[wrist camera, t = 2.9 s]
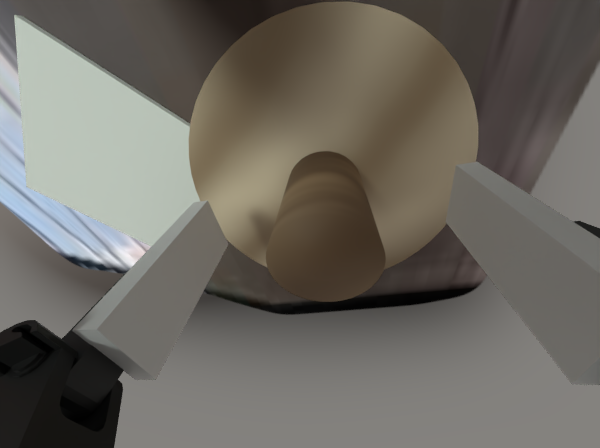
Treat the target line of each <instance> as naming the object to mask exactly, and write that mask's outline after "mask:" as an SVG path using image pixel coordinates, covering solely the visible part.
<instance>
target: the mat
mask: <svg viewBox="0 0 600 448" xmlns="http://www.w3.org/2000/svg"><path fill="white" fill-rule="evenodd" d="M14 17H15V31H16V45H17V59H18V73H19V87H20V101H21V115H22V129H23V143H24V158H25V172H26V186H27V187H28V188H30V189H32V190H34V191H36V192H38V193H40V194H42V195H44V196H47V197H49V198H51V199H53V200H55V201H57V202H59V203H61V204H63V205H65V206H68V207H70V208H72V209H74V210H76V211H78V212H80V213H82V214H84V215H86V216H89V217H91V218H93V219H95V220H97V221H99V222H101V223H103V224H105V225H107V226H110V227H112V228H114V229H116V230H118V231H120V232H122V233H124V234H126V235H128V236H131V237H133V238H135V239H137V240H139V241H141V242H143V243H145V244H147V245H149V246H153V245H154V244H155V243H156V241H157V240H158V239H159V238H160V237H161V236H162V235H163V234H164V233H165V232H166V231H167V230H168V229H169V228H170V227H171V226H172V225H173V224H174V223H175V222H176V220H177V219H178V218H179V217H180V216H181V215H182V214H183V213H184V212H185V211H186V210H187V209H188V208H189V207H190V206H191V205H192V204H193V203H194V202H200V199H199V196H198V194H197V192H196V189H195V185H194V182H193V178H192V175H191V168H190V162H189V132H190V123H188V122H186V121H185V120H183V119H182V118H180V117H179V116H177V115H176V114H174V113H172V112H171V111H169V110H168V109H166V108H165V107H163V106H162V105H160V104H158V103H157V102H155V101H154V100H152V99H151V98H149V97H148V96H146V95H144V94H143V93H141V92H140V91H138V90H137V89H135V88H134V87H132V86H130V85H129V84H127V83H126V82H124V81H123V80H121V79H120V78H118V77H116V76H115V75H113V74H112V73H110V72H109V71H107V70H106V69H104V68H102V67H101V66H99V65H98V64H96V63H95V62H93V61H92V60H90V59H88V58H87V57H85V56H84V55H82V54H81V53H79V52H78V51H76V50H74V49H73V48H71V47H70V46H68V45H67V44H65V43H64V42H62V41H60V40H59V39H57V38H56V37H54V36H53V35H51V34H50V33H48V32H46V31H45V30H43V29H42V28H40V27H39V26H37V25H36V24H34V23H32V22H31V21H29V20H28V19H26V18H25V17H23V16H18V15H14Z"/></svg>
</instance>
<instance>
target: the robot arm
mask: <svg viewBox="0 0 600 448" xmlns="http://www.w3.org/2000/svg"><path fill="white" fill-rule="evenodd" d="M446 223H447V224H448V226H449V227H450V228H451V229H452V231H453V232H454V233H455V235H456V236H457V237H458V238H459V240H460V241H461V242H462V244H463V245H464V246H465V247H466V249H467V250H468V251H469V253H470V254H471V255H472V256H473V258H474V259H475V260H476V262H477V263H478V264H479V265H480V267H481V268H482V269H483V271H484V272H485V273H486V274H487V276H488V277H489V278H490V279H491V281H492V282H493V283H494V285H495V286H496V287H497V289H498V290H499V291H500V292H501V294H502V295H503V296H504V298H505V299H506V300H507V301H508V303H509V304H510V305H511V307H512V308H513V309H514V310H515V312H516V313H517V314H518V315H519V317H520V318H521V319H522V321H523V322H524V323H525V325H526V326H527V327H528V328H529V330H530V331H531V332H532V333H533V335H534V336H535V337H536V339H537V340H538V341H539V343H540V344H541V345H542V346H543V348H544V349H545V350H546V351H547V353H548V354H549V355H550V357H551V358H552V359H553V360H554V362H555V363H556V364H557V366H558V367H559V368H560V369H561V371H562V372H563V373H564V375H565V376H566V377H567V378H568V380H569V381H570V382H571V384H580V385H582V384H584V385H585V384H586V385H587V384H588V385H600V228H597V227H594V226H591V225H588V224H586V223H583V222H581V221H575V222H573V221H571V220H569V219H568V218H566V217H565V216H563V215H561V214H560V213H558V212H557V211H555V210H554V209H552V208H550V207H549V206H547V205H545V204H544V203H542V202H541V201H539V200H538V199H536V198H534V197H533V196H531V195H530V194H528V193H526V192H525V191H523V190H522V189H520V188H518V187H517V186H515V185H514V184H512V183H510V182H509V181H507V180H506V179H504V178H502V177H501V176H499V175H498V174H496V173H495V172H493V171H491V170H490V169H488V168H487V167H485V166H483V165H482V164H480V163H479V162H472V163H465V164H458V165H456V167H455V172H454V178H453V183H452V189H451V194H450V200H449V205H448V211H447V216H446ZM227 246H228V242H227V240H226V238H225V236H224V234H223V232H222V229H221V227H220V225H219V223H218V221H217V219H216V217H215V215H214V212H213V210H212V208H211V206H210V204H209V202H208V200H207V201H200V202H194V203H193V204H192V205H191V206H190V207H189V208H188V209H187V210H186V211H185V212H184V213H183V214H182V215H181V216H180V217H179V218H178V219H177V220H176V222H175V223H174V224H173V225H172V226H171V227H170V228H169V229H168V230H167V231H166V232H165V233H164V234H163V235H162V236H161V237H160V238H159V239H158V240H157V241H156V243H155V244H154V245H153V246H152V247H151V248H150V249H149V250H148V251H147V252H146V253H145V254H144V255H143V256H142V257H141V258H140V259H139V260H138V261H137V262H136V263H135V265H134V266H133V267H132V268H131V269H130V270H129V271H128V272H126V273H125V274H124V275H123V276H122V277H121V278H120V279H119V280H118V281H117V282H116V283H115V284H114V287H113V288H110V289H109V291H108V292H107V293H106V294H105V296H104V297H102V298H101V299H100V300H99V301H98V302H97V303H96V304H95V305H94V306H93V307H92V308H91V310H89V311H88V312H87V313H86V315H85V316H84V317H83V318H82V319H81V320H80V321H79V322H78V323H77V324H76V325H75V326H74V327H73V328H72V329H71V330H70V331H69V332H68V333H67V335H66V336H64V337H63V338H62V339H61V338H59V337H58V336H56V335H55V334H54V333H52V332H51V331H49V330H48V329H47V328H45V327H44V326H42V325H41V324H40V323H38V322H37V321H35V320H28V321H24V322H21V323H18V324H16V325H14V326H12V327H10V328H8V329H6V330H4V331H2V332H1V333H0V448H114V444H115V437H116V431H117V425H118V417H119V412H120V405H121V399H122V392H123V387H122V383H121V382H120V381H119V380H118V378H119V377H120V375H121V374H122V372H123V371H125V372H126V373H127V374H129V375H130V376H131V377H133V378H134V379H137V380H140V379H142V380H156V379H157V377H158V375H159V373H160V371H161V369H162V367H163V366H164V363H165V362H166V360H167V358H168V356H169V354H170V352H171V350H172V349H173V347H174V345H175V343H176V341H177V339H178V338H179V336H180V334H181V332H182V330H183V328H184V326H185V324H186V323H187V321H188V319H189V317H190V315H191V313H192V311H193V310H194V308H195V306H196V304H197V302H198V300H199V298H200V296H201V295H202V293H203V291H204V289H205V287H206V285H207V283H208V282H209V280H210V278H211V276H212V274H213V272H214V270H215V268H216V267H217V265H218V263H219V261H220V259H221V257H222V255H223V253H224V252H225V250H226V248H227Z"/></svg>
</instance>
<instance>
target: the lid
mask: <svg viewBox="0 0 600 448" xmlns="http://www.w3.org/2000/svg"><path fill="white" fill-rule="evenodd" d="M477 151H478V120H477V114H476V107H475V103H474V100H473V97H472V94H471V91H470V88H469V85H468V82H467V80H466V79H465V77H464V75H463V73H462V71H461V69H460V67H459V65H458V64H457V62H456V61H455V60H454V58H453V57H452V56H451V55H450V53H449V52H448V51H447V50H446V48H445V47H444V46H443V45H442V44H441V43H440V42H439V41H438V40H437V39H436V38H435V37H433V36H432V35H431V34H430V33H429V32H428V31H427V30H425V29H424V28H423V27H421V26H420V25H418V24H416V23H414V22H413V21H411V20H409V19H408V18H406V17H404V16H402V15H401V14H398V13H395V12H392V11H389V10H387V9H384V8H381V7H378V6H375V5H369V4H362V3H356V2H350V1H347V2H320V3H315V4H310V5H305V6H300V7H296V8H293V9H291V10H288V11H285V12H283V13H280V14H277V15H275V16H272V17H271V18H269V19H267V20H266V21H264V22H262V23H260V24H259V25H257V26H255V27H254V28H252V29H250V30H249V31H248V32H247V33H246V34H244V35H243V36H242V37H241V38H240V39H238V40H237V41H236V42H235V43H234V44H232V45H231V47H230V48H229V49H228V50H227V51H226V52H225V53H224V55H223V56H222V57H221V58H220V59H219V60H218V61H217V63H216V64H215V66H214V67H213V69H212V71H211V72H210V74H209V75H208V77H207V79H206V80H205V82H204V84H203V86H202V89H201V91H200V93H199V96H198V98H197V100H196V103H195V107H194V111H193V114H192V118H191V124H190V132H189V162H190V168H191V175H192V178H193V182H194V185H195V189H196V192H197V194H198V196H199V199H200V201H207V200H208V202H209V204H210V206H211V208H212V210H213V212H214V215H215V217H216V219H217V221H218V223H219V225H220V227H221V229H222V232H223V234H224V236H225V238H226V239H227V240H228V241H229V242H230V243H231V244H232V245H234V246H235V247H236V248H237V249H238V250H239V251H241V252H242V253H244V254H245V255H246V256H248V257H249V258H251V259H253V260H254V261H256V262H258V263H259V264H261V265H263V266H266V267H268V270H269V272H270V274H271V276H272V277H273V279H274V280H275V281H276V282H277V283H278V284H279V285H280V286H281V287H282V288H284V289H285V290H287V291H288V292H290V293H292V294H294V295H296V296H298V297H301V298H304V299H308V300H313V301H321V302H333V301H341V300H346V299H350V298H353V297H355V296H358V295H360V294H362V293H364V292H365V291H367V290H368V289H370V288H371V287H372V286H373V285H374V284H375V283H376V282H377V281H378V280H379V278H380V277H381V275H382V273H383V271H384V269H387V268H389V267H392V266H394V265H396V264H398V263H399V262H401V261H403V260H405V259H407V258H408V257H410V256H411V255H413V254H414V253H416V252H417V251H419V250H420V249H421V248H423V247H424V246H425V245H426V244H427V243H429V242H430V241H431V240H432V239H433V238H434V237H435V236H436V235H437V234H438V233H439V232H440V231H441V230H442V229H443V228H444V226H445V225H446V224H447V223H446V216H447V211H448V205H449V200H450V194H451V189H452V183H453V178H454V172H455V167H456V165H458V164H465V163H472V162H476V158H477Z"/></svg>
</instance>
